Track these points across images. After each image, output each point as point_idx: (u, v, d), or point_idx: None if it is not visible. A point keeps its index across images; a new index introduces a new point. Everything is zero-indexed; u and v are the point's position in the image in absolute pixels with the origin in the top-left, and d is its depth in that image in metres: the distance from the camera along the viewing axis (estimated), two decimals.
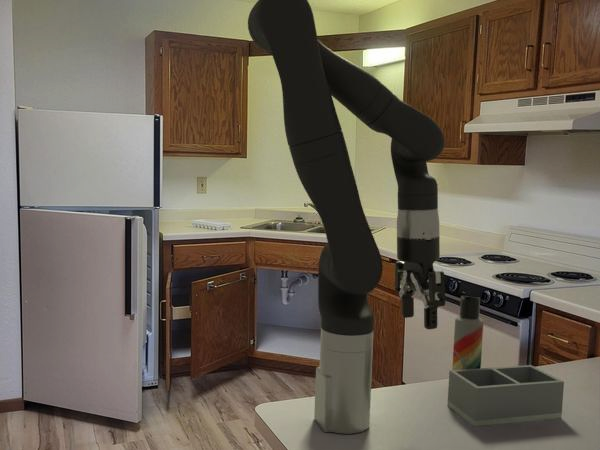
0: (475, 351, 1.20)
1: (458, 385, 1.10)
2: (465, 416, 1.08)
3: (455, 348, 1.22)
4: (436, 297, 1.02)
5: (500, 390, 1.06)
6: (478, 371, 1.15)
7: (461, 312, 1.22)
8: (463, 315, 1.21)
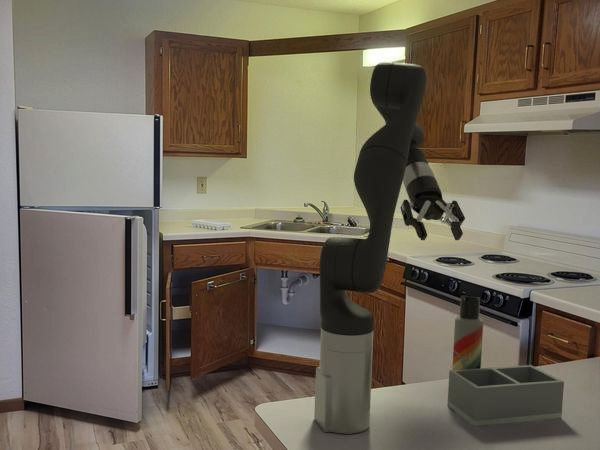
0: (475, 351, 1.20)
1: (458, 385, 1.10)
2: (465, 416, 1.08)
3: (455, 348, 1.22)
4: (451, 222, 1.37)
5: (500, 390, 1.06)
6: (478, 371, 1.15)
7: (461, 312, 1.22)
8: (463, 315, 1.21)
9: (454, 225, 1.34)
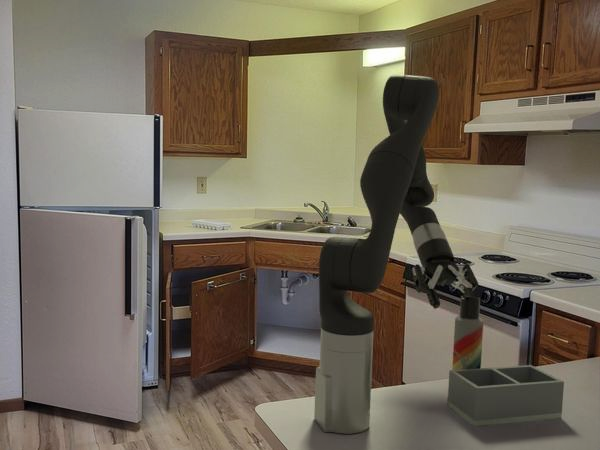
0: (475, 351, 1.20)
1: (458, 385, 1.10)
2: (465, 416, 1.08)
3: (455, 348, 1.22)
4: (463, 286, 1.33)
5: (500, 390, 1.06)
6: (478, 371, 1.15)
7: (461, 312, 1.22)
8: (463, 315, 1.21)
9: (467, 291, 1.30)
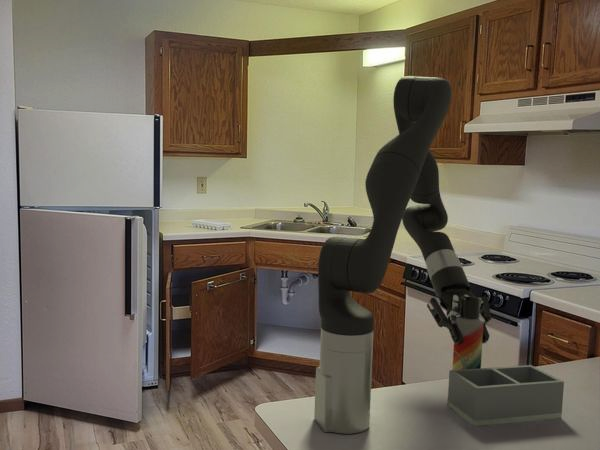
0: (475, 351, 1.20)
1: (458, 385, 1.10)
2: (465, 416, 1.08)
3: (455, 348, 1.22)
4: None
5: (500, 390, 1.06)
6: (478, 371, 1.15)
7: (461, 312, 1.22)
8: (463, 315, 1.21)
9: None
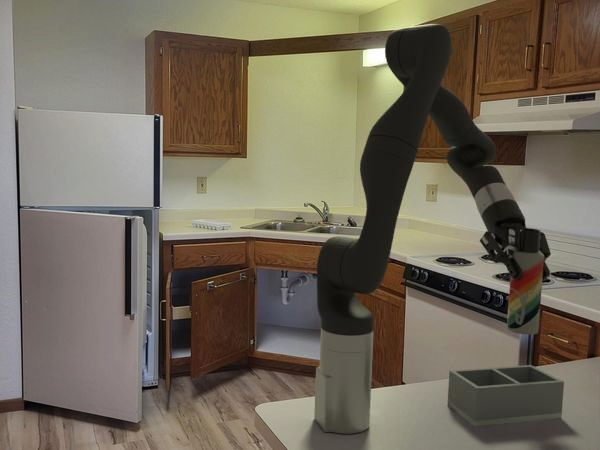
0: (536, 287, 1.10)
1: (458, 385, 1.10)
2: (465, 416, 1.08)
3: (513, 285, 1.12)
4: None
5: (500, 390, 1.06)
6: (478, 371, 1.15)
7: (519, 246, 1.11)
8: (522, 249, 1.11)
9: None
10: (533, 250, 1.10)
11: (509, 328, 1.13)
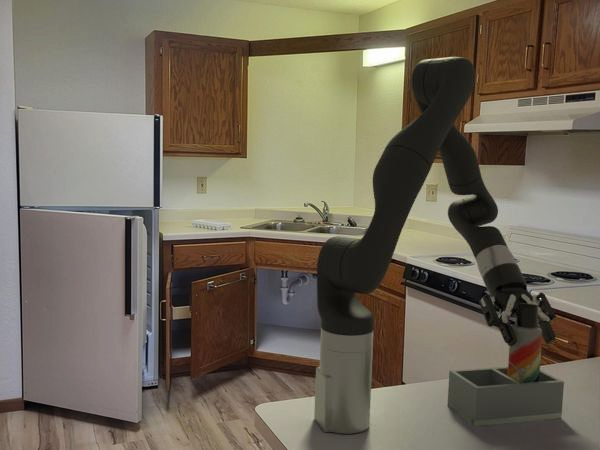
0: (534, 363, 1.10)
1: (458, 385, 1.10)
2: (465, 416, 1.08)
3: (511, 359, 1.12)
4: (538, 319, 1.16)
5: (500, 390, 1.06)
6: (478, 371, 1.15)
7: (517, 320, 1.12)
8: (520, 324, 1.11)
9: (544, 325, 1.13)
10: (531, 325, 1.10)
11: None
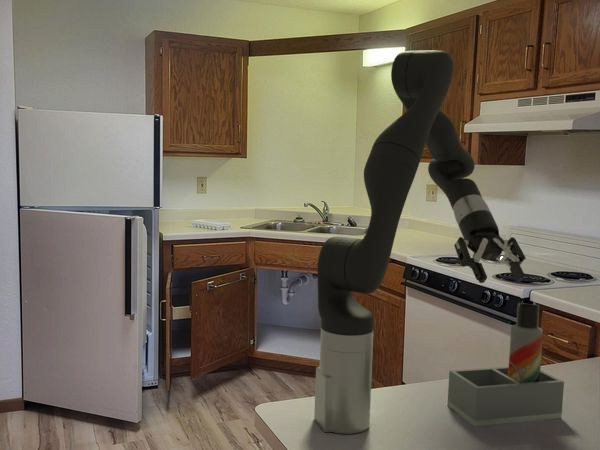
0: (534, 363, 1.10)
1: (458, 385, 1.10)
2: (465, 416, 1.08)
3: (511, 359, 1.12)
4: (509, 261, 1.26)
5: (500, 390, 1.06)
6: (478, 371, 1.15)
7: (518, 320, 1.12)
8: (520, 324, 1.11)
9: (514, 265, 1.23)
10: (531, 326, 1.10)
11: None
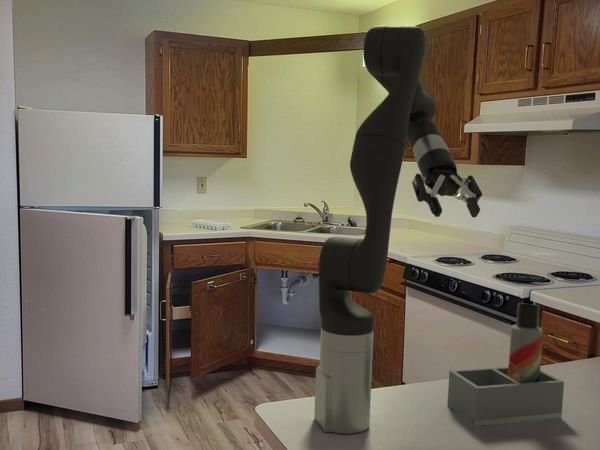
0: (534, 363, 1.10)
1: (458, 385, 1.10)
2: (465, 416, 1.08)
3: (511, 359, 1.12)
4: (466, 198, 1.26)
5: (500, 390, 1.06)
6: (478, 371, 1.15)
7: (518, 320, 1.12)
8: (520, 324, 1.11)
9: (471, 201, 1.24)
10: (531, 326, 1.10)
11: None
